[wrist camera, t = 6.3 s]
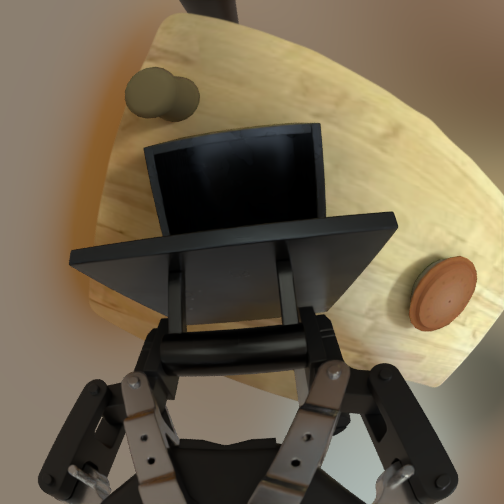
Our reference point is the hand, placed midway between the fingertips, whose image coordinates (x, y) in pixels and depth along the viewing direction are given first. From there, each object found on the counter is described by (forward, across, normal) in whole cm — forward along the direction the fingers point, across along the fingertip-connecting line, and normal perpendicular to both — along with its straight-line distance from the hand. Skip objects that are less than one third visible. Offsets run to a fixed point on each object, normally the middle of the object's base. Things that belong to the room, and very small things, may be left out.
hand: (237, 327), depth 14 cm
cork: (+25, +7, -13) cm, 29 cm away
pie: (+24, -32, +20) cm, 45 cm away
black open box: (+25, 0, +1) cm, 25 cm away
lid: (+6, 0, +2) cm, 6 cm away
